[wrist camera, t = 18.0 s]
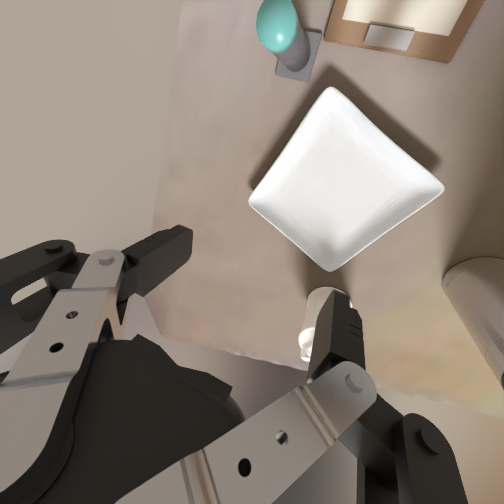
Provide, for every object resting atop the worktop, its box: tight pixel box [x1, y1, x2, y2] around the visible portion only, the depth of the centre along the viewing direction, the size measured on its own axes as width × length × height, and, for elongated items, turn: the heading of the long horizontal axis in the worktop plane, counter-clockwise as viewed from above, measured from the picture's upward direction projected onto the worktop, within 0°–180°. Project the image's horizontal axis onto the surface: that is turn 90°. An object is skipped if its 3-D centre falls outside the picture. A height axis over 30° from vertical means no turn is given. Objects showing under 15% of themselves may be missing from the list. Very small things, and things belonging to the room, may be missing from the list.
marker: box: [256, 0, 310, 72], centre depth 25 cm, size 4×4×11 cm
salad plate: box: [248, 86, 445, 272], centre depth 35 cm, size 21×21×3 cm
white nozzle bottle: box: [298, 287, 352, 362], centre depth 39 cm, size 10×9×20 cm
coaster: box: [275, 31, 322, 82], centre depth 29 cm, size 5×5×1 cm
